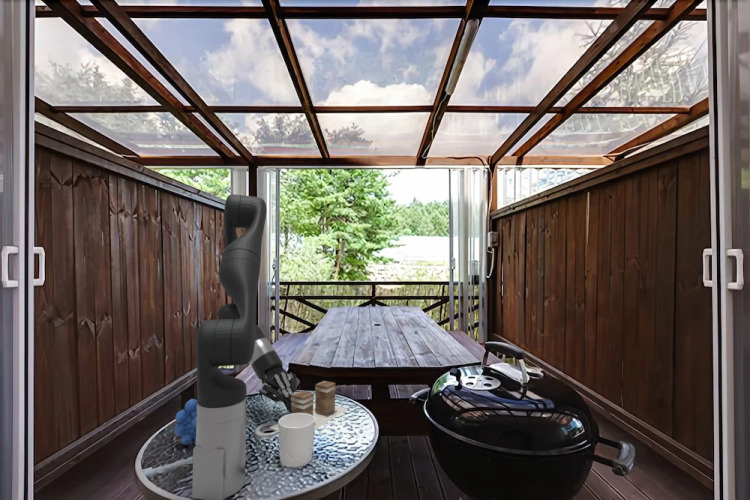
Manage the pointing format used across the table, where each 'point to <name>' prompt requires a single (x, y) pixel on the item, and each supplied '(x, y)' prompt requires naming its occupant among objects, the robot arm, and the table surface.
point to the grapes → (187, 422)
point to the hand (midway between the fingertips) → (294, 410)
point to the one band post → (325, 397)
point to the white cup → (296, 439)
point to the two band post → (302, 402)
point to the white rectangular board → (319, 417)
